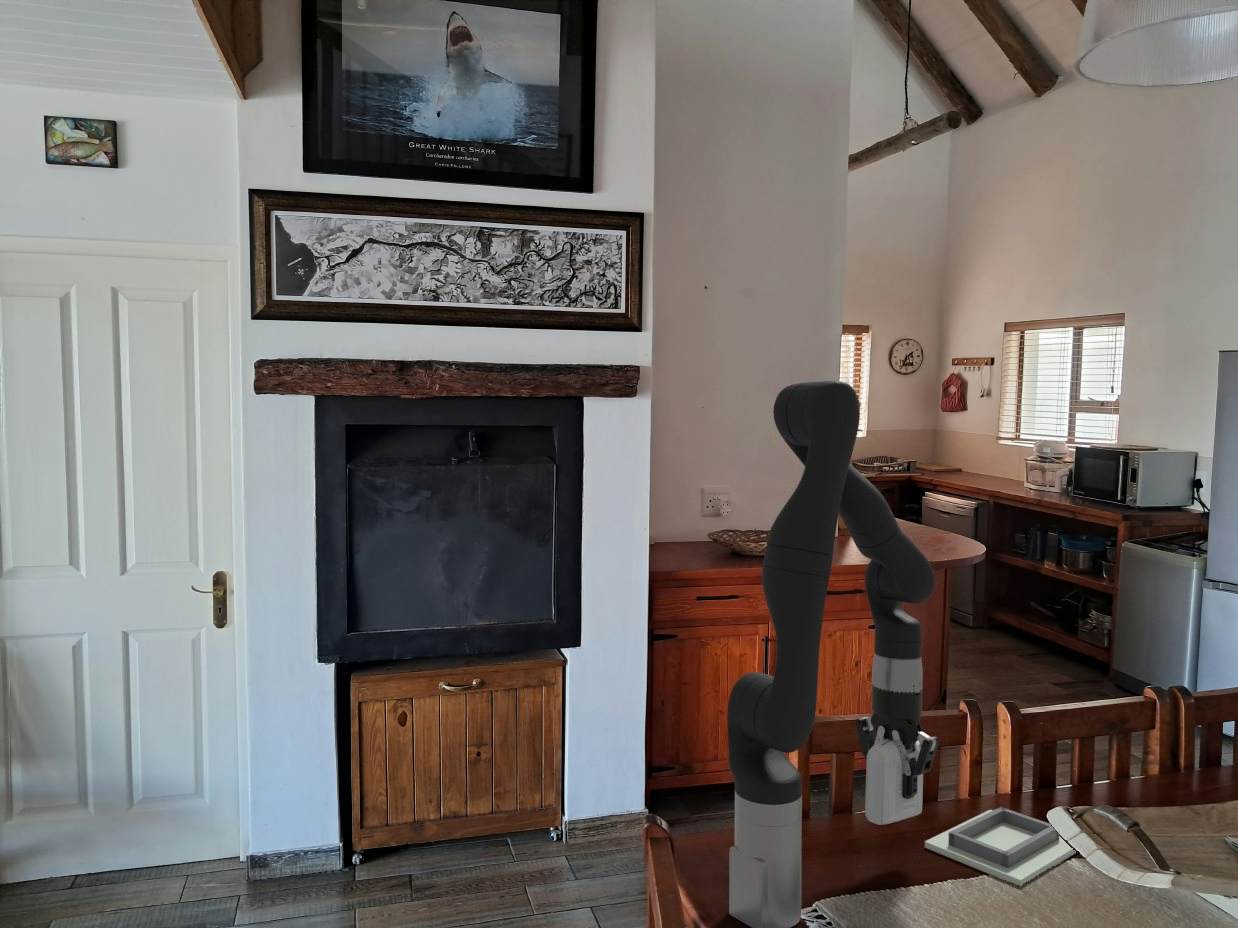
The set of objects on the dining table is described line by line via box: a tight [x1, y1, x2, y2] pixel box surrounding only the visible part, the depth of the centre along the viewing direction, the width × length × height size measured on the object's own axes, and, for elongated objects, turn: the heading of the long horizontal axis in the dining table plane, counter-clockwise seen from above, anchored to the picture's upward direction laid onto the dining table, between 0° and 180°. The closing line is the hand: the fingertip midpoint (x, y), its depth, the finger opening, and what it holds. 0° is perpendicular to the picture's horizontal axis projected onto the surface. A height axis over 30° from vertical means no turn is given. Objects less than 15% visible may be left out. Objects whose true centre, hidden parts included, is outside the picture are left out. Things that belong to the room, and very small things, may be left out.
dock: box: [924, 806, 1076, 888], centre depth 144 cm, size 20×16×3 cm
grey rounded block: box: [864, 739, 924, 826], centre depth 139 cm, size 10×4×12 cm, turn 123°
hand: (894, 791), depth 139 cm, fingers closed on grey rounded block, 4 cm apart
